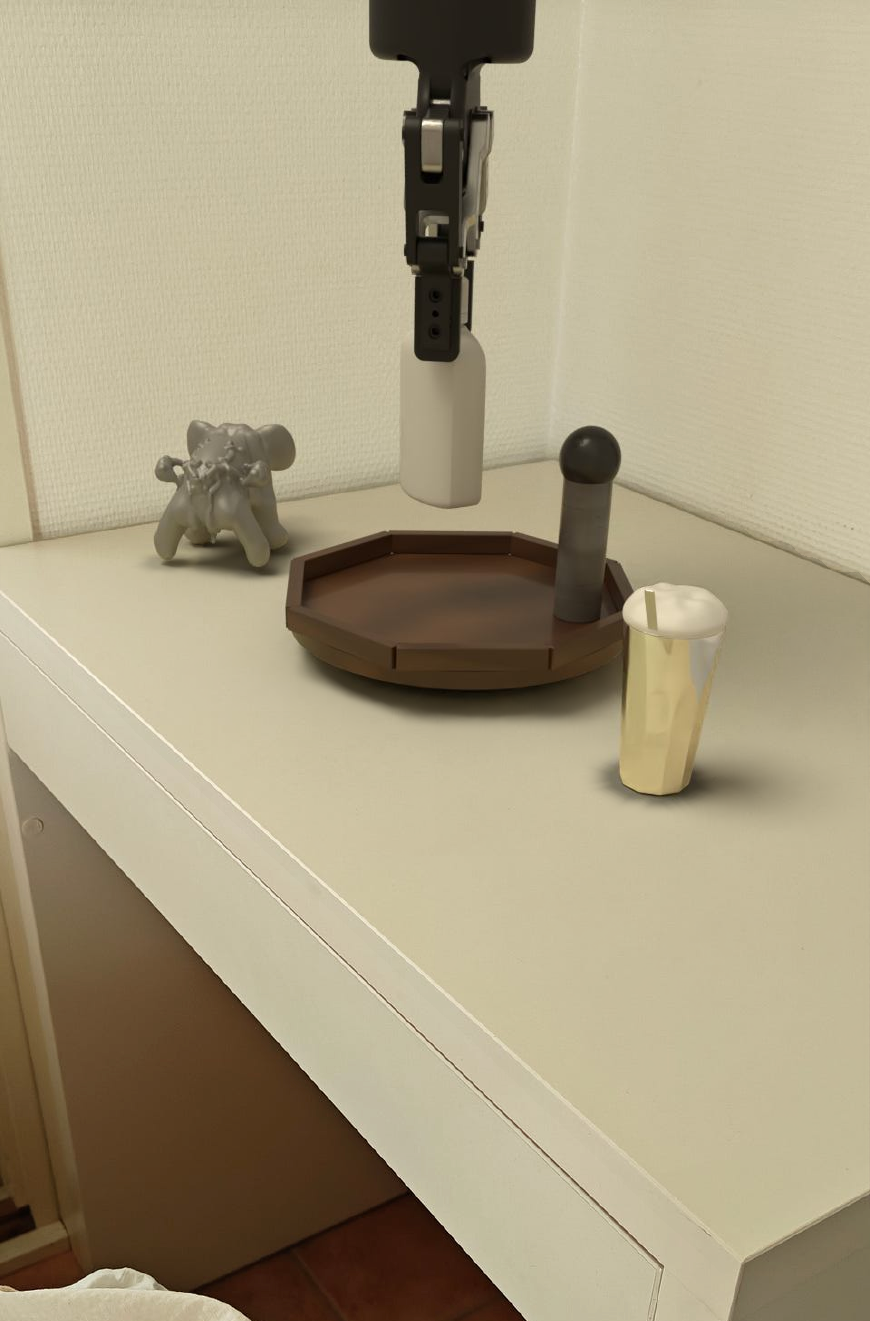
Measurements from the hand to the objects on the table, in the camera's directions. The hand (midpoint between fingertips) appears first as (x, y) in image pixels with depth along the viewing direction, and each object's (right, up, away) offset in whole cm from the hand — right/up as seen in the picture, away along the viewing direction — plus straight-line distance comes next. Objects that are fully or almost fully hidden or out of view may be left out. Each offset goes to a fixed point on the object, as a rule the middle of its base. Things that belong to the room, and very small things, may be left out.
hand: (443, 347), depth 69 cm
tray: (+1, -12, +7) cm, 14 cm away
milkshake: (+10, -23, -5) cm, 26 cm away
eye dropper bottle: (0, -6, +4) cm, 8 cm away
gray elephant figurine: (-14, -4, +22) cm, 26 cm away
